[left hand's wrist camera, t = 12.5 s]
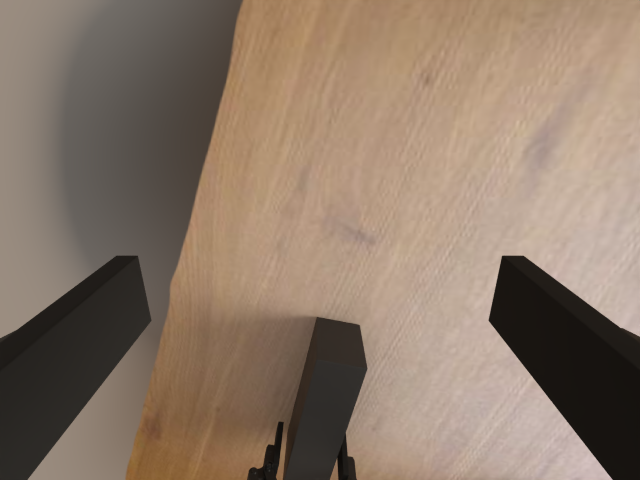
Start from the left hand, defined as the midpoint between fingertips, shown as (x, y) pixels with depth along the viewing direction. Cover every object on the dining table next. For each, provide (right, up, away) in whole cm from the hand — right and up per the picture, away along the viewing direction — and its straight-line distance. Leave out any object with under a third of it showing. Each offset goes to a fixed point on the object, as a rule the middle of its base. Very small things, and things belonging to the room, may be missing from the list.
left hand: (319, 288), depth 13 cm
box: (0, -20, +40) cm, 44 cm away
